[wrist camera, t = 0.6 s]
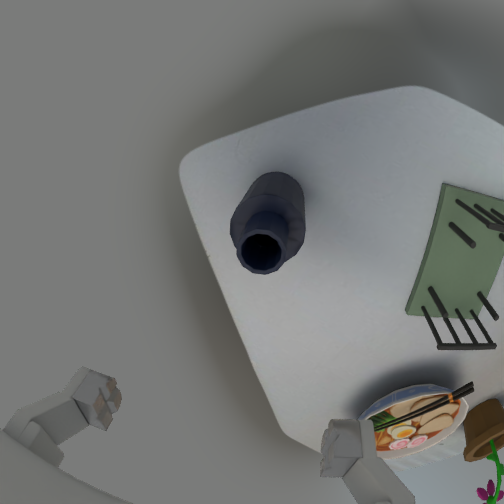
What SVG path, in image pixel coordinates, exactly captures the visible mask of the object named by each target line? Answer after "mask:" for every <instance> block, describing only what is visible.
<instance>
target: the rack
mask: <svg viewBox="0 0 504 504" xmlns="http://www.w3.org/2000/svg"><path fill="white" fill-rule="evenodd" d="M503 255H504V201H503V200H500V199H497V198H494V197H491V196H487V195H484V194H480V193H477V192H474V191H470V190H466V189H463V188H459V187H455V186H451V185H447V184H442V189H441V193H440V198H439V202H438V206H437V211H436V215H435V219H434V222H433V226H432V230H431V234H430V237H429V241H428V244H427V247H426V251H425V254H424V257H423V260H422V264H421V267H420V270H419V273H418V276H417V279H416V282H415V284H414V287H413V290H412V293H411V295H410V298H409V301H408V303H407V306H406V309H405V311H406V314H407V315H415V316H425V318H426V320H427V322H428V324H429V326H430V328H431V330H432V333H433V335H434V337H435V339H436V342H437V344H438V345H437V349H438V350H486V349H495V348H496V347H497V345H496V343H493V341H492V340H491V338H490V336H489V335H488V333H487V331H486V330H485V328H484V326H483V325H482V323H481V322H480V320H479V319H478V315H479V313H480V311H481V309H482V306H483V304H484V306H485V307H486V309H487V310H488V311H489V313H490V314H491V316H492V317H493V319H494V320H495V321H497V320H498V319H499V316H498V314H497V313H496V311H495V310H494V309H493V307H492V306H491V305H490V303H489V302H488V300H487V299H486V298H487V295H488V293H489V291H490V289H491V286H492V284H493V281H494V279H495V277H496V274H497V271H498V269H499V266H500V264H501V261H502V258H503ZM430 317H443V319H444V321H445V323H446V325H447V327H448V329H449V330H450V332H451V334H452V336H453V338H454V340H455V342H456V343H442V341H441V339H440V336H439V334H438V332H437V330H436V328H435V326H434V324H433V322H432V320H431V318H430ZM448 318H459V319H460V321H461V323H462V324H463V326H464V328H465V330H466V331H467V333H468V335H469V337H470V339H471V340H472V342H473V343H461V342H460V340H459V338H458V336H457V334H456V332H455V330H454V328H453V327H452V325H451V323H450V321H449V319H448ZM465 319H474V320H475V321H476V323H477V325H478V326H479V328H480V329H481V331H482V333H483V334H484V336H485V338H486V340H487V341H488V343H478V342H477V340H476V338H475V337H474V335H473V333H472V331H471V330H470V328H469V326H468V324H467V323H466V321H465Z"/></svg>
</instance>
